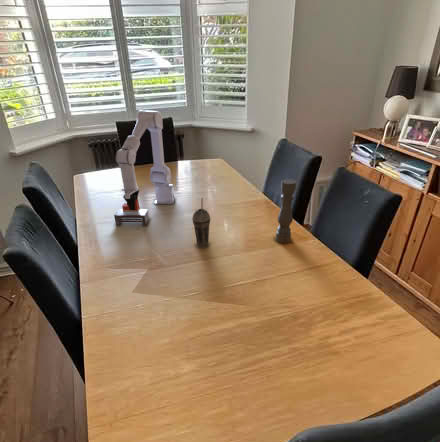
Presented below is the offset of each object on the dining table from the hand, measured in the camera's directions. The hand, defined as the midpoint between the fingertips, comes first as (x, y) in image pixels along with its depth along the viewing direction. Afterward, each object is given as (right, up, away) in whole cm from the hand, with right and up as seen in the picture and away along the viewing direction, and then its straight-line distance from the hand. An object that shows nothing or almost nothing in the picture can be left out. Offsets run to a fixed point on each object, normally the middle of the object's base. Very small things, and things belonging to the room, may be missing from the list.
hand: (133, 208), depth 165 cm
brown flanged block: (-1, -6, +4) cm, 7 cm away
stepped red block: (-1, -1, +1) cm, 2 cm away
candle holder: (+67, -17, -12) cm, 70 cm away
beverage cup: (+32, -19, -15) cm, 41 cm away
